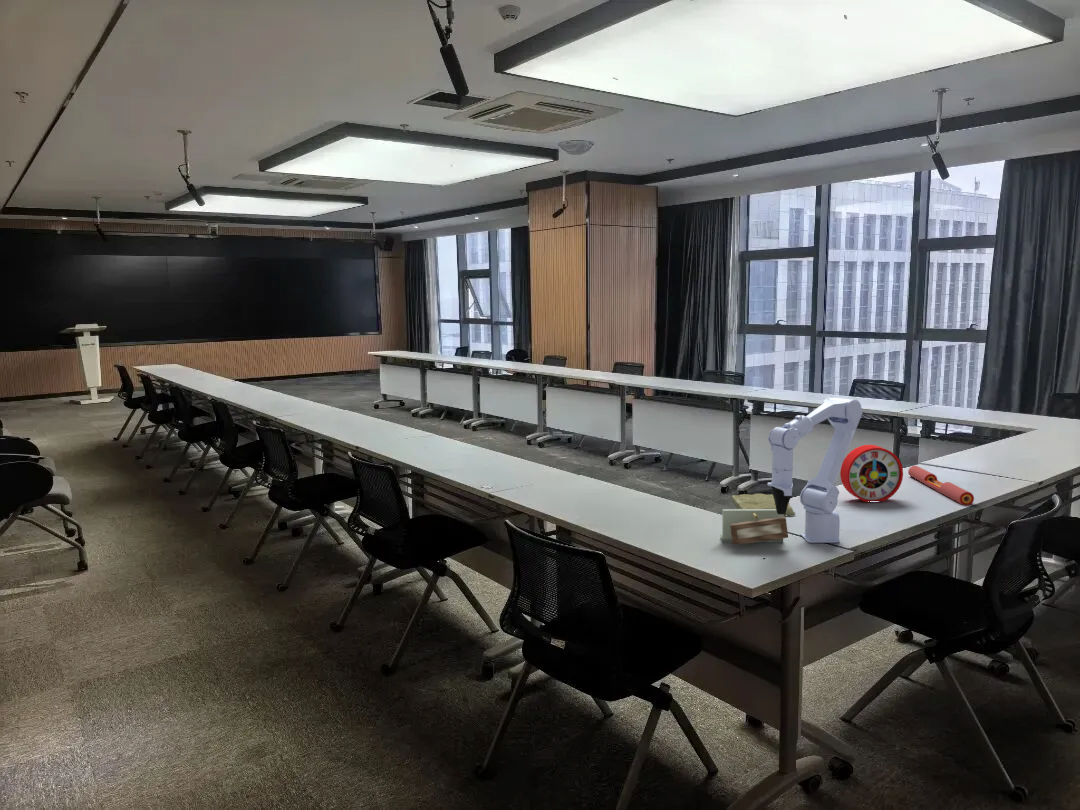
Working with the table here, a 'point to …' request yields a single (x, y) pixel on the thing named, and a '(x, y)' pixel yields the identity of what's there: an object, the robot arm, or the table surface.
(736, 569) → the table surface
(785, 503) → the robot arm
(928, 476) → the blood vessel
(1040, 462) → the table surface
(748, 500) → the decorative tile
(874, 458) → the toy clock
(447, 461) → the table surface
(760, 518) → the curved green slab
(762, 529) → the picture frame
